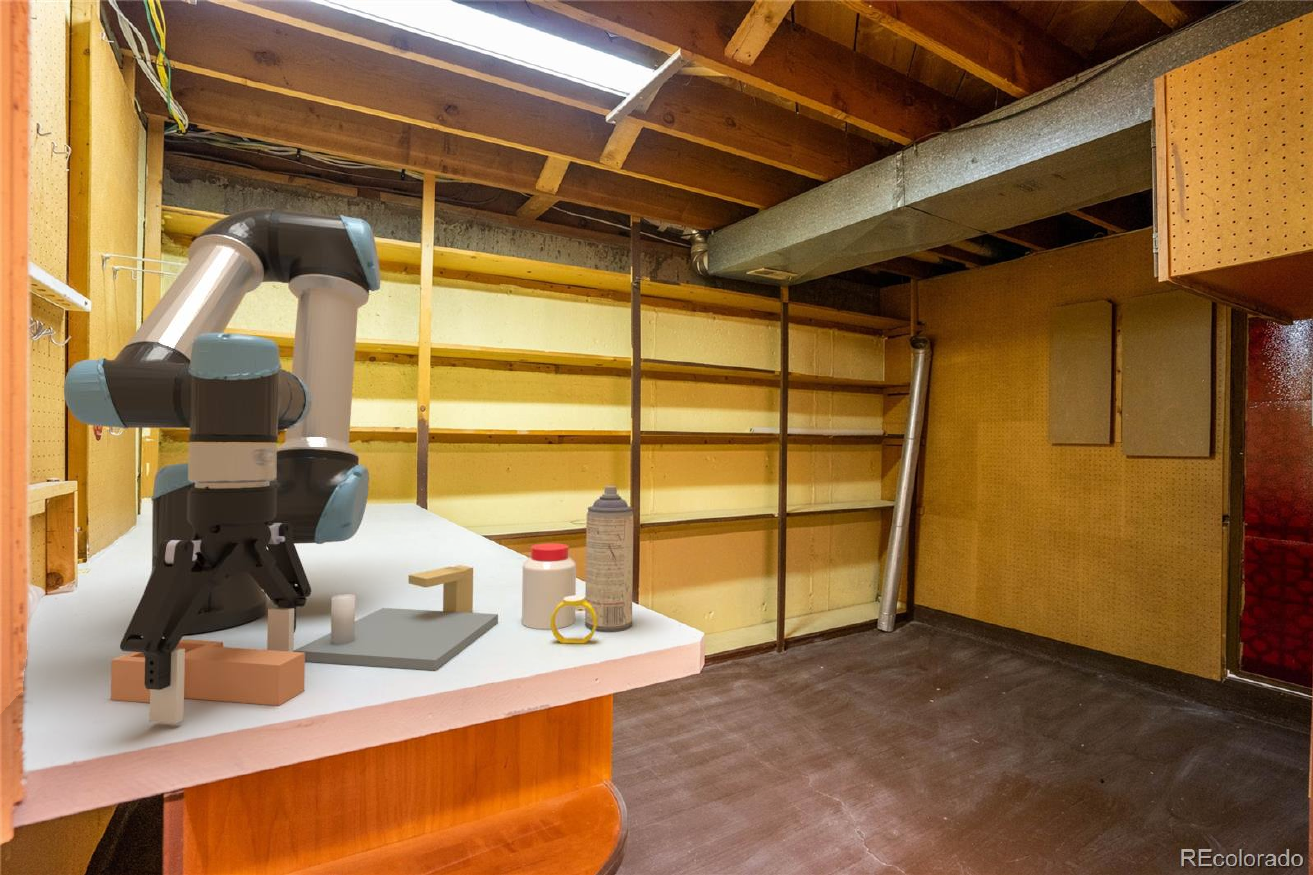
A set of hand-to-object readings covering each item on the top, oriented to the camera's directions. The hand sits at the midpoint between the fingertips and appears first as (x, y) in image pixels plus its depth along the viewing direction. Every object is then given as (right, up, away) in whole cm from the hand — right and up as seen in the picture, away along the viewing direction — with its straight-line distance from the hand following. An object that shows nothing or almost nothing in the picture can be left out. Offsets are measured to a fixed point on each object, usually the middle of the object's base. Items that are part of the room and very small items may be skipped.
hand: (229, 690), depth 61 cm
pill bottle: (+28, -1, +26) cm, 38 cm away
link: (-2, 0, 0) cm, 2 cm away
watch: (+33, -1, +17) cm, 37 cm away
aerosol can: (+37, -1, +25) cm, 45 cm away
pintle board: (+11, -1, +19) cm, 22 cm away
